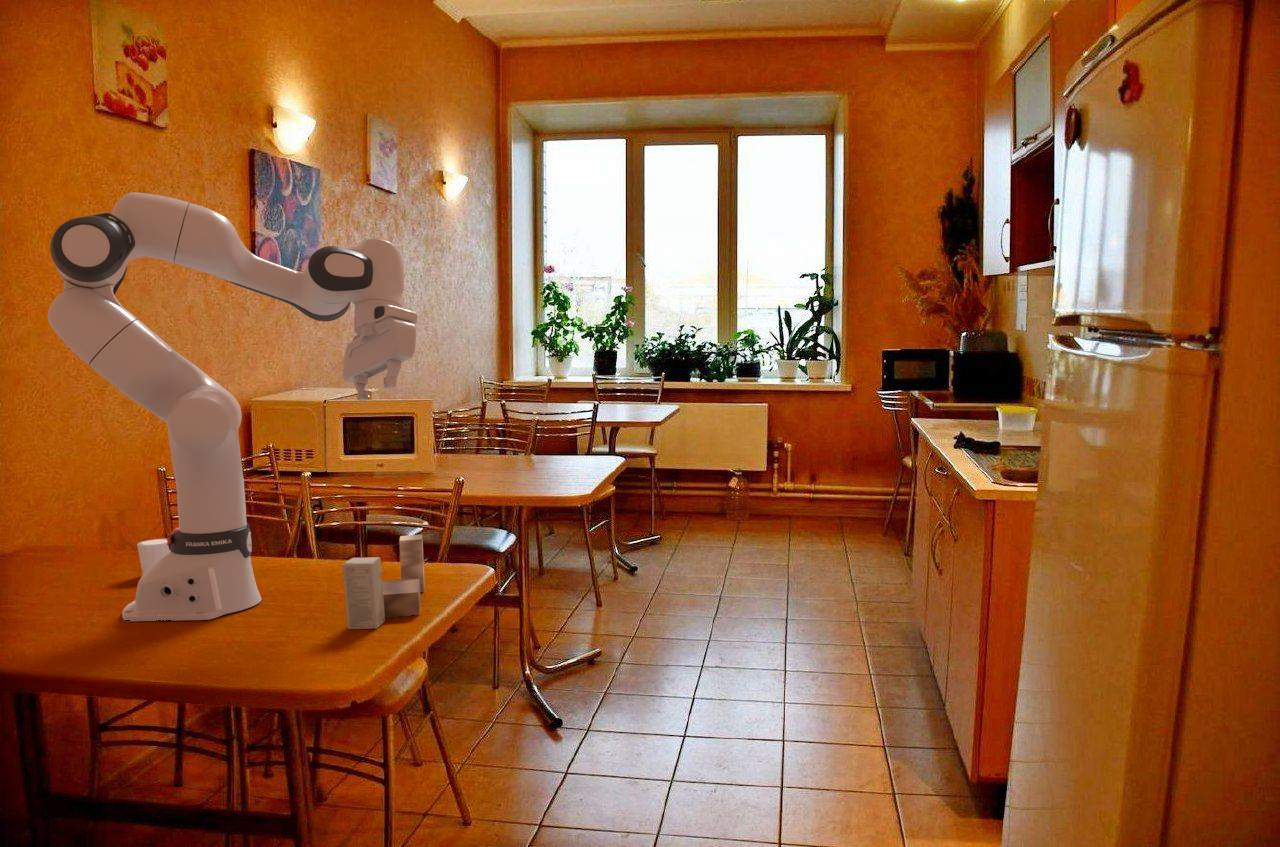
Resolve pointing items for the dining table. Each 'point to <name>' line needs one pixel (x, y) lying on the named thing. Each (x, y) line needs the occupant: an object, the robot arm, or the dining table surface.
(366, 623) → the box
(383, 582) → the light tan slab
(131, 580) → the dining table surface
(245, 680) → the dining table surface
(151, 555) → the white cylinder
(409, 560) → the oak post
